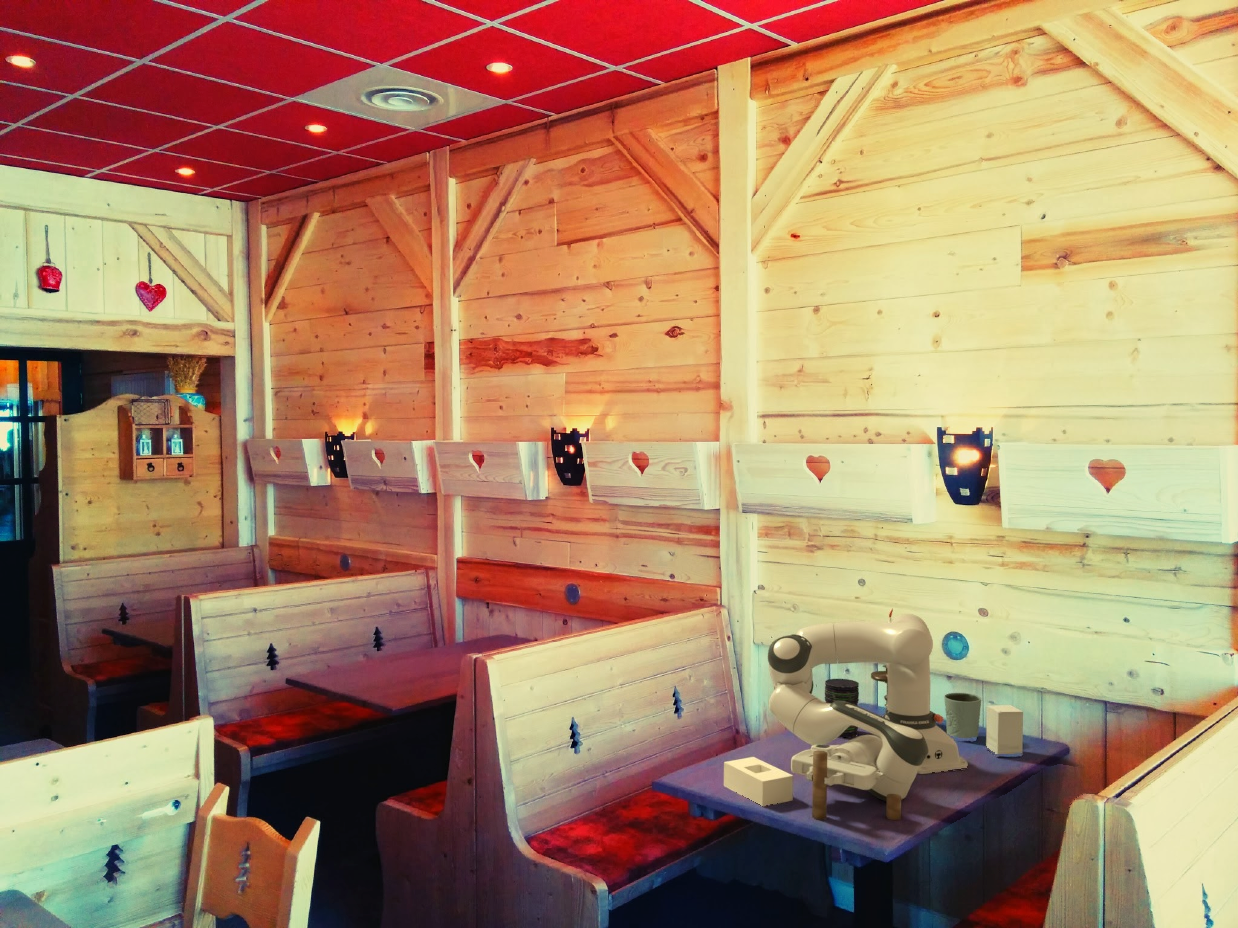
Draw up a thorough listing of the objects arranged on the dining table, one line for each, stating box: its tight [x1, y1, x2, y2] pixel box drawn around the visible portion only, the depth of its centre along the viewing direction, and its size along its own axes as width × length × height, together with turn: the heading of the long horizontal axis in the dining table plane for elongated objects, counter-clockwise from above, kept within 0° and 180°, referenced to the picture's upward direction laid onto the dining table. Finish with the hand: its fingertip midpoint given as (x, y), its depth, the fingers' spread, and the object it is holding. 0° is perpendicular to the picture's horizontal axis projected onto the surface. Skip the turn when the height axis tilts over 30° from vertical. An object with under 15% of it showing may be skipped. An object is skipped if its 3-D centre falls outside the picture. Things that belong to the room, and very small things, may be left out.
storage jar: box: [824, 678, 860, 738], centre depth 304 cm, size 10×10×15 cm
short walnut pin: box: [886, 794, 902, 821], centre depth 238 cm, size 3×3×5 cm
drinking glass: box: [943, 692, 982, 738], centre depth 300 cm, size 10×10×12 cm
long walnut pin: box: [811, 750, 828, 821], centre depth 238 cm, size 3×3×15 cm
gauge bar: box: [723, 756, 794, 807], centre depth 253 cm, size 9×16×6 cm, turn 29°
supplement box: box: [985, 704, 1024, 754], centre depth 286 cm, size 7×7×13 cm
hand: (818, 779), depth 237 cm, fingers closed on long walnut pin, 3 cm apart
